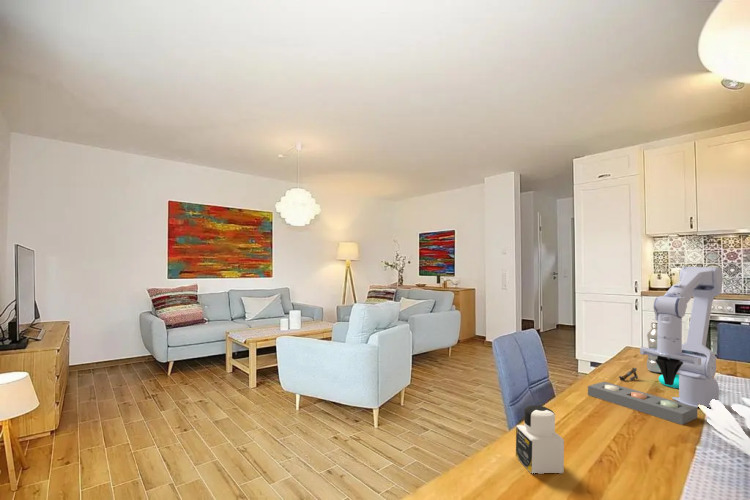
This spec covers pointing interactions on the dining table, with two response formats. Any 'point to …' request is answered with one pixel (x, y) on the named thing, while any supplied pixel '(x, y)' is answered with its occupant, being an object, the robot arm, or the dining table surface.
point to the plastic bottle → (652, 344)
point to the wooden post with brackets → (629, 375)
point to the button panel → (644, 403)
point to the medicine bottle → (539, 442)
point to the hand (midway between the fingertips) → (669, 384)
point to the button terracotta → (639, 395)
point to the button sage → (669, 404)
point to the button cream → (612, 387)
